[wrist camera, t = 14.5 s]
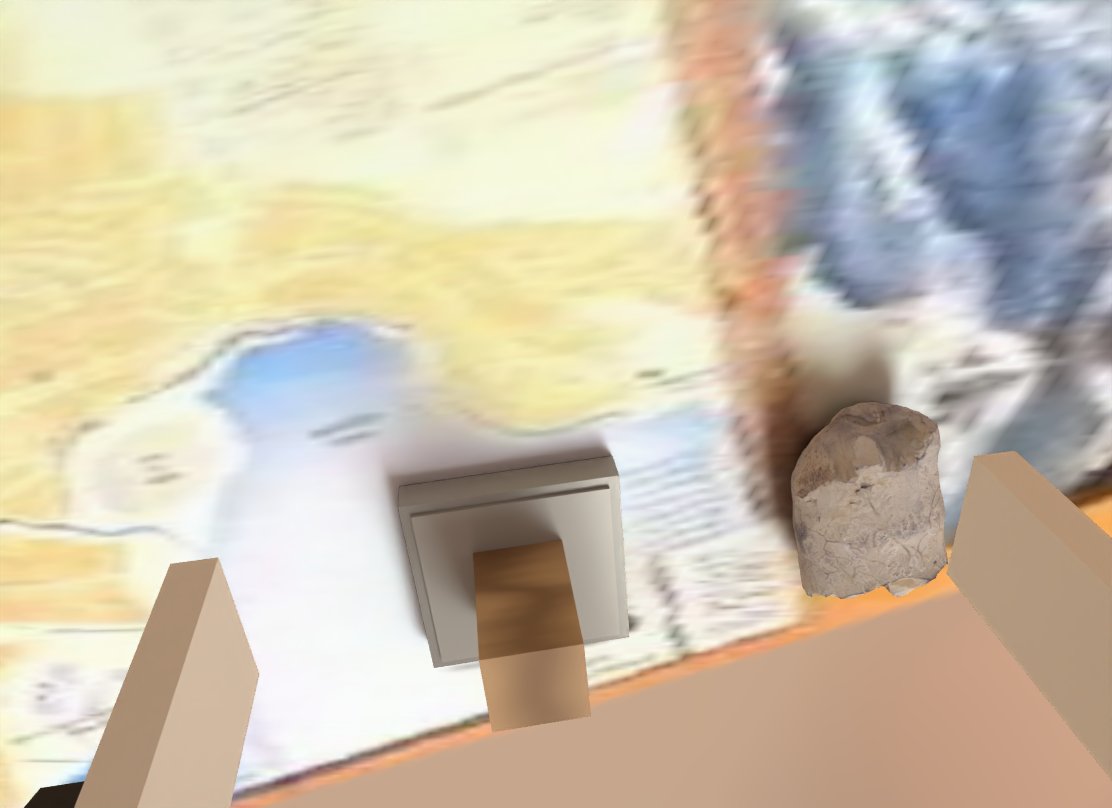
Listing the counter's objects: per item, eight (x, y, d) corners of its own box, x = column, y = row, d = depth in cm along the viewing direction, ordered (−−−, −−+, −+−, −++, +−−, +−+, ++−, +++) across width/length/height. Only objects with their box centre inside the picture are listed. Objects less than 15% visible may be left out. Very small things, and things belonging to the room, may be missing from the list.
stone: (900, 369, 47) (966, 432, 41) (907, 532, 52) (966, 607, 46) (761, 407, 47) (806, 475, 41) (784, 565, 53) (827, 644, 47)
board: (434, 643, 52) (434, 671, 50) (399, 486, 46) (397, 510, 44) (622, 614, 53) (630, 639, 51) (612, 455, 47) (619, 478, 45)
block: (484, 619, 49) (492, 732, 42) (472, 552, 46) (479, 660, 39) (569, 606, 49) (590, 716, 42) (561, 539, 46) (583, 643, 39)
